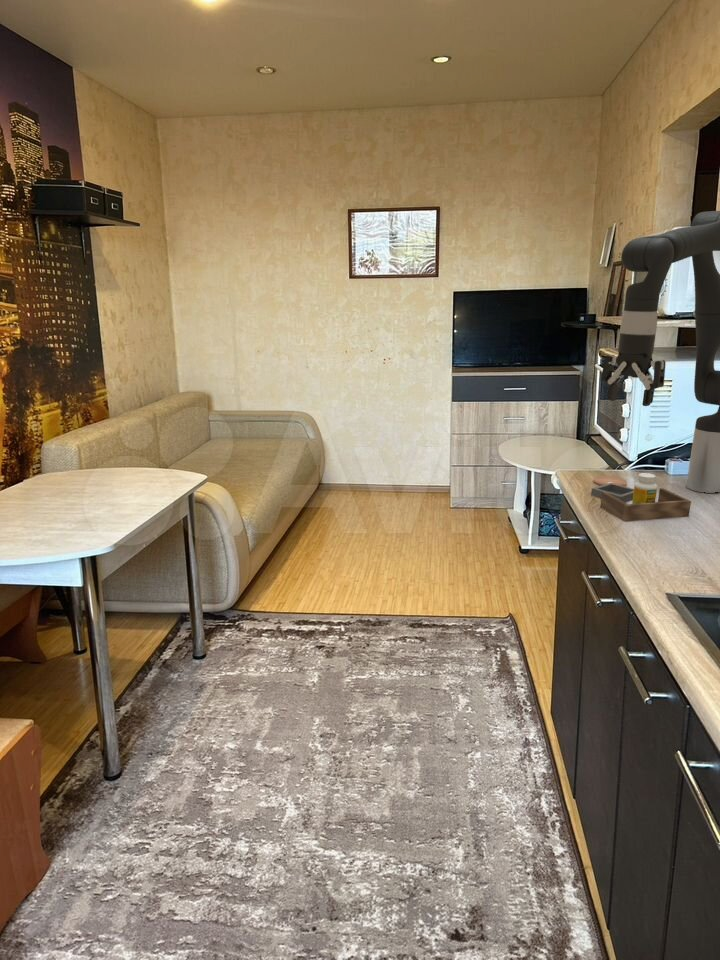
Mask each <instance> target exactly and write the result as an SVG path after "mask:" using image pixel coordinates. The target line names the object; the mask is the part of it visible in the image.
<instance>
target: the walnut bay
mask: <svg viewBox="0 0 720 960" xmlns="http://www.w3.org/2000/svg"><path fill="white" fill-rule="evenodd" d="M658 490H659V491H658V498H657V501H655V502H652V503H638V504H632V503H627V502H623V501H621V500H619V499H618V498H616V497H614V496H612V495H610V494H608V493H606V492H602V496H601V498H600V505H599V507H600V508H601V507H602V508H601V509H603V508H604V509H603V510H605V509H606V510H607V511H606V510H605V511H606V512H608V511H609V512H608V513H609V514H612V515H613V514H614V516H615V517H617V518H619V519H620V520H622V521H624V522H632V521H646V520H656V519H657V520H658V519H672V518H684V517H690V512H691V507H692V506H691V505H692V500H690V499H687V498H685V497H683V496H681V495H679V494H677V493H674V492H672V491H671V490H668V489H666V488H663V487H661V488H659V489H658Z"/></svg>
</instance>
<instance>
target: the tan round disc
mask: <svg viewBox="0 0 720 960" xmlns="http://www.w3.org/2000/svg"><path fill="white" fill-rule="evenodd" d="M627 482H628V481H627V479H625V478H622V477H619V476H613V475H597V476H594V477H593V483H594V484H595V485H597V486H601V485H605V484H608V483H613V484H617V485H621V486H625V487H627V484H628V483H627Z"/></svg>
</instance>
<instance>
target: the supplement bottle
mask: <svg viewBox="0 0 720 960" xmlns="http://www.w3.org/2000/svg"><path fill="white" fill-rule="evenodd" d="M656 477H657V476H656V474H653V473H648V472H642V473H639V474H638V478H637V481H636V482H635V484H634V486H633V489H634V494H633V500H632V501H631V504H638V503H652V502H656V499H657V492H658V485H657V483H655V482H656Z"/></svg>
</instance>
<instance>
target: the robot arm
mask: <svg viewBox="0 0 720 960" xmlns="http://www.w3.org/2000/svg"><path fill="white" fill-rule="evenodd" d="M719 251H720V210H712V211H710V210H709V211H701V212H698V213H697V214H695V216H694V217H693V219H692V221H691V223H690V226H684V227H683V226H682V227H679V228H674V229H671V230H669V231H666V232H663V233H660V234H655V235H648V236H641V237H640V236H639V237H635V238H633V239H632V240H630V241H628V243H626V245H624V248H622V251H621V256H620V258H621V259H620V260H621V264H622V265H623V267H624V268H625V269H626V270H627V271H629V272H634V273H641V272H642V273H644V272H645V273H647V274H646V276H645V278H644V279H643V280H642V281H640V282H637V283H631V284H630V285H628V286H627V288H626V290H625V291H626V292H625V297H624V305H623V313H622V318H621V322H620V328H619V329H620V330H619V337H618V348H617V351H618V355H617V356H615V355H614V354H610V355H605V356H604V360H603V366H602V373H601V377H600V378H601V381H603V382H606V383H608V389H607V398H608V400H609V401H610V402H615V401H616V400H617V399H618V392H619V384H618V383H619V382H620V381H621V380H622V378H624V377H631V378H635V379H637V378H638V380H639V381H640V382H641V383H642V385H643V386H644V390H643V396H642V406H643V407H649V406H651V404H652V403H653V401H654V394H655V390H656V389H658V388H662V387H664V385H665V377H666V376H665V375H666V361H665V360H663V359H660V360H653V354H654V351H655V350H654V349H655V343H656V334H657V328H658V309H659V303H660V293H661V292H662V288H663V285H664V283H665V280H666V278H667V276H668V273H669V271H670V268H671V267H672V264H673V263H677V262H680V261H683V260H684V259H687V258H690V257H691V261H692V268H693V277H694V319H695V321H694V322H695V342H696V344H695V346H696V347H695V349H696V350H695V351H696V352H695V353H696V354H695V371H694V385H693V386H694V387H693V388H694V389H693V392H694V396H695V399H696V400H697V402H699V403H702V404H708V405H715V406H718V408H717V411H716V412H715V413H712V414H708V415H702V416H700V417H697V418H696V421H695V426H694V431H693V438H692V443H691V444H692V445H691V453H690V457H689V464H688V465H689V466H688V472H687V477H686V483H685V484H686V485H685V487H686V488H687V489H689V490H692V491H695V492H698V493H704V492H705V493H704V494H716V493H715V492H719V493H720V370H718V369H717V370H715V360H716V359H715V358H716V355H717V353H718V351H719V350H720V273H719V271H718V269H717V266H716V263H715V259H714V254H713V253H714V252H719ZM615 365H617V369H616V370H615V371H614V367H615ZM651 367H652V370H653V375H652V373H651V372H650V369H651Z"/></svg>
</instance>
